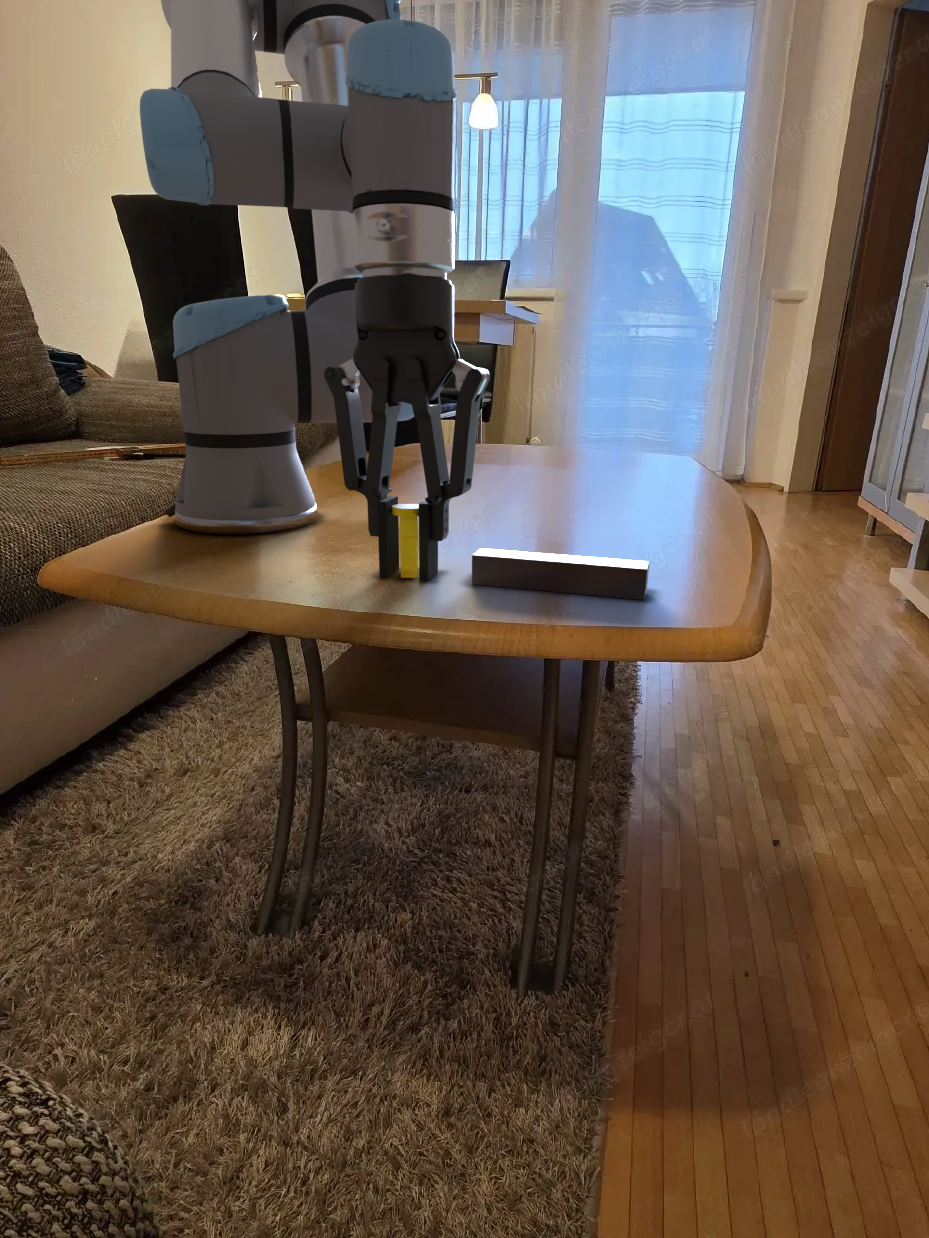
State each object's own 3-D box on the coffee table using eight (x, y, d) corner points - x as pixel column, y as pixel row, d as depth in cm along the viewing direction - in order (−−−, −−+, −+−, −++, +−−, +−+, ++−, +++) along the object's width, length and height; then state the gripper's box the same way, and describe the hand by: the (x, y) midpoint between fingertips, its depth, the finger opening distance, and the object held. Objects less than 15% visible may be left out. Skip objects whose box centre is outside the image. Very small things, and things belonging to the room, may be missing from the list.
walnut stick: (471, 584, 62) (471, 554, 62) (479, 576, 65) (480, 547, 64) (644, 600, 59) (647, 569, 58) (646, 591, 61) (649, 561, 60)
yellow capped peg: (426, 584, 62) (426, 513, 60) (392, 585, 62) (391, 513, 60) (423, 565, 68) (423, 499, 66) (392, 565, 68) (391, 499, 66)
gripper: (285, 273, 56) (304, 578, 64) (494, 268, 52) (487, 596, 59) (330, 283, 63) (342, 558, 70) (518, 279, 59) (510, 572, 66)
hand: (409, 575), depth 65 cm, fingers open, 3 cm apart
